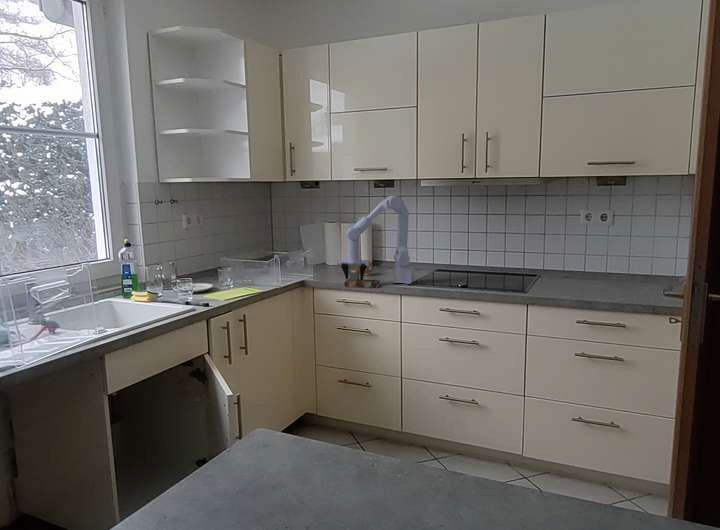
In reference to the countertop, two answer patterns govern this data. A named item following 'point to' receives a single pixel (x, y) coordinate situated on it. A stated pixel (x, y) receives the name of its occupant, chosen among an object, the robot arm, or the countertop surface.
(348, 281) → the brown flat block
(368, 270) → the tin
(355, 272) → the plug
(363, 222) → the robot arm
